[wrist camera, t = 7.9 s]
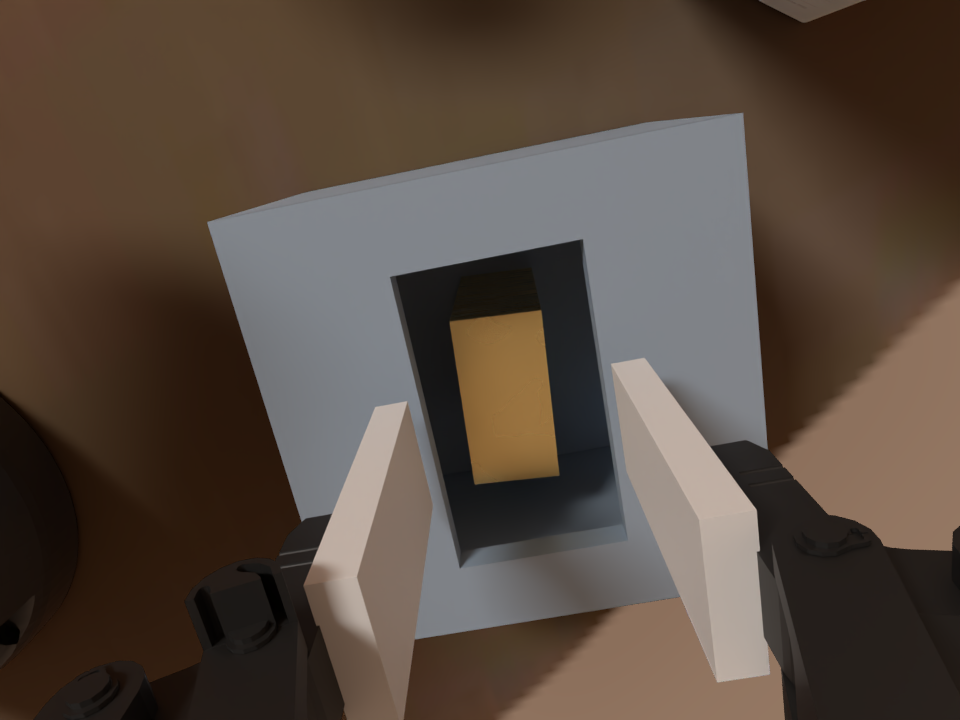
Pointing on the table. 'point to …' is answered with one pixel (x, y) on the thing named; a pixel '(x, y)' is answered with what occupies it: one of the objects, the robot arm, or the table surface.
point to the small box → (809, 7)
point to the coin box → (567, 332)
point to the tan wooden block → (504, 377)
